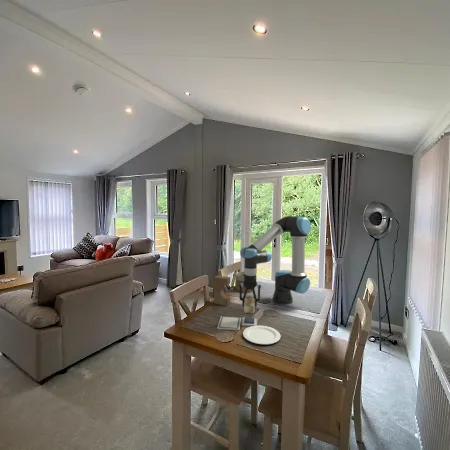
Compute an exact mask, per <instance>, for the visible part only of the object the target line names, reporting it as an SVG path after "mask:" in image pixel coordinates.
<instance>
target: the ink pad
mask: <svg viewBox="0 0 450 450" xmlns="http://www.w3.org/2000/svg"><path fill="white" fill-rule="evenodd" d="M251 326H258V318H255V317H248V316H245V317H241V327H251Z"/></svg>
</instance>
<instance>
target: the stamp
mask: <svg viewBox="0 0 450 450" xmlns="http://www.w3.org/2000/svg"><path fill="white" fill-rule="evenodd" d="M254 301H255V299H254V295H249V294H248V295H247V294H246V297H245V312H244V314H245V315H254V313H253V312H254Z"/></svg>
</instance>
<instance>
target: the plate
mask: <svg viewBox="0 0 450 450" xmlns="http://www.w3.org/2000/svg"><path fill="white" fill-rule="evenodd" d="M242 337H244V339H245V340H246V341H248V342H250V343H252V344H255V345H256V344H257V345H260V346H261V345H262V346H265V345H266V346H267V345H273V344H276V343H278V342H279V341H280V340H281V337H282V335H281V334H280V332H279V331H278V330H277V329H275V328H273V327H271V326H266V325H257V326H247V327H246V328H244V330H243V331H242Z"/></svg>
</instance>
